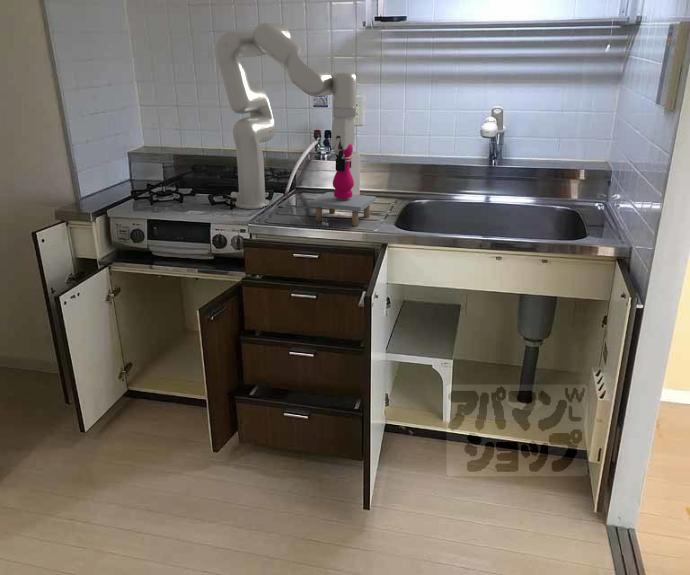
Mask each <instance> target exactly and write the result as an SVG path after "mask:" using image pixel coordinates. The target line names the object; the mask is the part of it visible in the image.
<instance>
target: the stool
mask: <svg viewBox="0 0 690 575" xmlns="http://www.w3.org/2000/svg"><path fill="white" fill-rule="evenodd" d="M376 199H377V197H376V196H373V195H365V194H364V195H362V194H360V195H354V194H352V197H351V198H336V197H334V191H327V192H325V193H323V194H321V195H320V196H318V197H316V198H315V199H312V200H311V201H309V207H314V208H315V222H316V221H317V222H316V223H322V222H323V208H324V209H328V210H329V211H328V212H329V214H333V215H334V214H336V210H339V211H340V210H341V211H350V212H352V214H351V215H352V216H351V220H352V221H351V226H352V225H353V226H352V227H358V226H359V212H360V213H361V212H362V211H363V218H366V219H367V218H370V211H371V210H370V209H371V208H370V207H371V205H372V204H374V203H375V202H376V201H377V200H376ZM321 221H322V222H321Z"/></svg>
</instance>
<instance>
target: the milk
mask: <svg viewBox="0 0 690 575" xmlns="http://www.w3.org/2000/svg"><path fill="white" fill-rule="evenodd" d="M352 147H353V148H354V145H353V146H352ZM350 172H351V175H352V177H353V180H354V186H353V188H352V189H351V191H352V194H354V195H361V191H360V190H361V154H359V153H357V152H356V151H354V150H353V152H352V155H351V168H350Z"/></svg>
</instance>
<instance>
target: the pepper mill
mask: <svg viewBox="0 0 690 575" xmlns="http://www.w3.org/2000/svg"><path fill="white" fill-rule="evenodd" d="M339 149H343V147H340V148H339ZM353 151H354V146H353V147H352V145H351V144H349V146H348V148H347V149H346V150H345V156H344V159H345V171H336V173H335V175H334V177H333V179H332V187H333V189H335V190H333V192H334V197H336V198H351V197H352V191H351V189H352V188H353V186H354V180H353V177H352V175H351V172H350V166H349V164H350V161H351V156H350V155H351V153H352V152H353ZM340 152H341V153H342V151H340Z"/></svg>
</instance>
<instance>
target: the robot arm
mask: <svg viewBox="0 0 690 575" xmlns="http://www.w3.org/2000/svg"><path fill="white" fill-rule="evenodd" d="M214 50H215V59H216V62H217V66H218V67H219V71H220V73H221V76H222V81H223V84H224V88H225V92H226V96H227V99H228V103H229V106H230V108H231V110H232V112H233V113H235V114H238V115H243V114H244V115H245V114H249V116H246V117H243V118H242V117H241V118H239V119H238V120H237V121H236V122H235V124H234V125H233V128H232V136H233V141H234V146H235V150H236V151H235V152H236V166H237V176H238V177H237V178H238V182H237V183H238V192H236V191H232V192H231V193H230V198H231V199H236V201H235V203H234V204H235V207H237V208H240V209H247V210H249V209H250V210H253V209H254V210H255V209H263V207H264V208H266V207H265V206H267V205H268V204H269V203H270V200H268V199H266V185H265V182H266V181H265V163H264V162H265V161H264V153H263V149H262V148H261V145H260V144H261V143H266V142H269V141H271V140H272V139H273V138H274V137H275V134H276V122H275V117H274V114H273V111H272V106H271V102H270V99H269V95H268V93H267V91H266V90H265V89H264V88H263V87H262V86H260V85H257V84H250V81H249V78H248V73H247V70H246V68H245V66H244V65H243V63H242V62H241V60H240V58H241V57H242V58H249V57H250V58H251V57H252V58H253V57H261V56H266V55H267V56H268V57H269V58H271V59H272V60H273V61H274V62H276V63H277V64H278V65H279V66H280V67H282V69H283V70H284V72H285V74H286V76H287V78H288V79H289V80H290V82H291V83H292V84H293V85H294V86H295V87H297V88H298V89H299V90H300V91H302V92H303V93H305V95H308V96H310V97H324V96H325V97H326V96H331V95H332V118H333V120H332V124H331V139H330V140H331V142H330V143H331V144H330V147H331V149H332V150H333V151H334V154H335V157H334V159H335V171H336V172H337V171H345V159H344V156H345V150H346V149H347V148H348V146H349V144H351V145H352V146H353V147H354V145H355V119H356V118H357V116H356V115H357V114H356V113H357V107H356V106H357V76H356V73H354V72H346V71H345V72H343V71H341V72H336V71H332V70H318V71H317V70H316V71H315V70H314V69H312V68H311V67H310V66H308V65H307V64H306V63H305V62H304V61H303V60H302V59H301V56H302V49H301V47H300V45H298V44H297V43H296V42H294V41H293V40H292V36H291V32H290V30H289V29H288V27H287V26H285V25H283V24H281V23H274V22H273V23H271V22H264V23H259V24H258V25H256V27H255V28H253V30H246V29H245V30H244V29H243V30H242V29H232V30H227V31H225V32H223V33H221V35H220V36H219V37H218V39H217V41H216V43H215V49H214ZM340 147H343V149H339V148H340ZM340 151H342V153H341V152H340ZM351 155H352V153H351ZM351 155H350V156H351ZM349 166H350V168H351V161H350V164H349ZM269 205H270V204H269ZM267 207H268V206H267Z"/></svg>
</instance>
